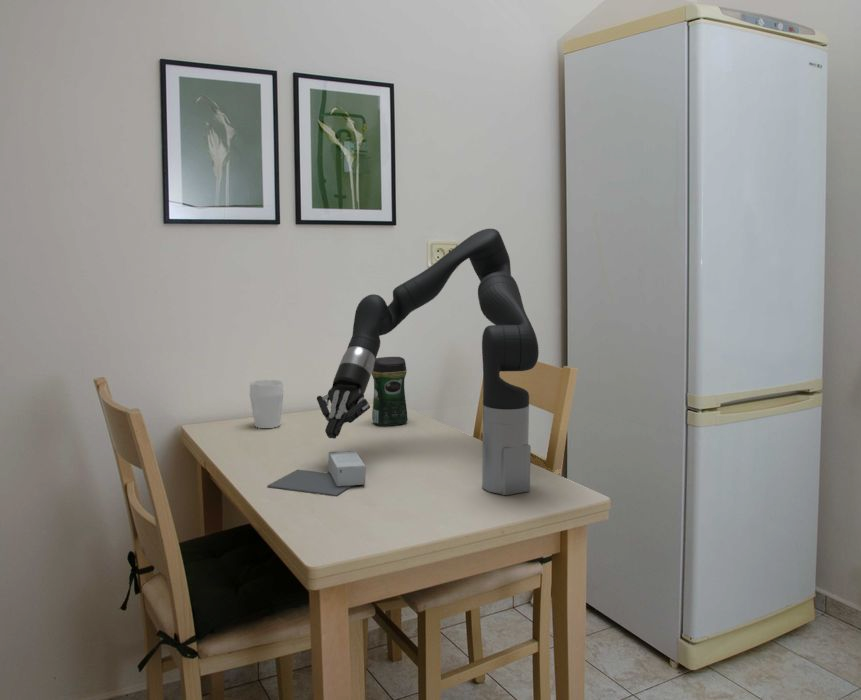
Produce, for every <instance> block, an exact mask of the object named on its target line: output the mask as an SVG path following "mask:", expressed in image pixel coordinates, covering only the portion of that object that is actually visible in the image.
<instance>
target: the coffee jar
mask: <svg viewBox="0 0 861 700" xmlns="http://www.w3.org/2000/svg"><path fill="white" fill-rule="evenodd" d="M406 363H407V362H406V360H405V358H404V357H401V356H384V357H376V359H375V362H374V368H373V371H372V374H371V376H372V379H373V385H374V387H373V400H372V402H373V403H372V410H371V411H372V414H371V417H372V418H371V420H372V421H371V422H372V423H373V424H374V425H376V426H382V427H383V426H384V427H387V426H389V427H390V426H398V425H404V424H405V423H407V422H408V420H409V419H408V418H409V417H408V410H407V409H408V408H407V401H406V392H405V378H406V375H407V370H408V369H407V364H406Z"/></svg>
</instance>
